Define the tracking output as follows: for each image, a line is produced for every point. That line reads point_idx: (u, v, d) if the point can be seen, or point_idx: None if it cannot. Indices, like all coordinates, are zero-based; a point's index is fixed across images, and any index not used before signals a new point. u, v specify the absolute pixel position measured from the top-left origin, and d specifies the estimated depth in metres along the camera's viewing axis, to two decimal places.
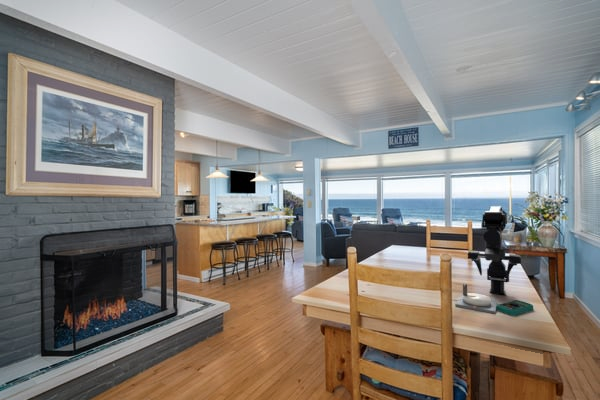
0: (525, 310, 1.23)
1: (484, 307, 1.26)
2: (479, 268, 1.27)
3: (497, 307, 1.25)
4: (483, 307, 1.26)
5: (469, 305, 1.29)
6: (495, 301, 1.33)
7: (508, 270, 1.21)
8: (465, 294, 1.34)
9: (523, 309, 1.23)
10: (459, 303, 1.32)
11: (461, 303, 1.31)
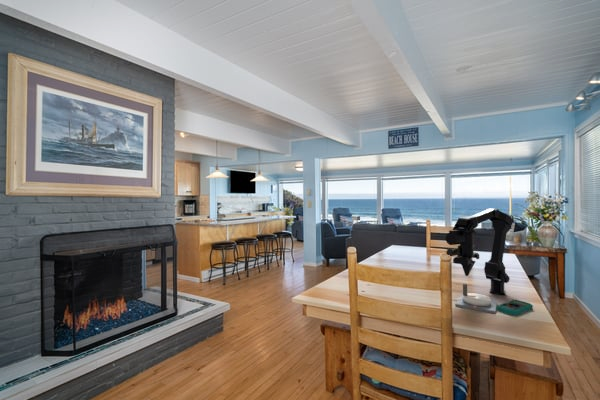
0: (525, 310, 1.23)
1: (484, 307, 1.26)
2: None
3: (498, 307, 1.25)
4: (483, 307, 1.26)
5: (469, 305, 1.29)
6: (495, 301, 1.33)
7: None
8: (465, 294, 1.34)
9: (523, 309, 1.23)
10: (459, 303, 1.32)
11: (461, 303, 1.31)
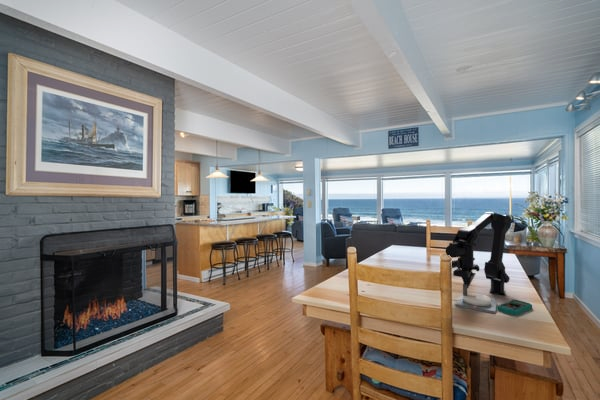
0: (525, 310, 1.23)
1: (484, 307, 1.26)
2: None
3: (498, 307, 1.25)
4: (483, 307, 1.26)
5: (469, 305, 1.29)
6: (495, 301, 1.33)
7: None
8: (465, 294, 1.34)
9: (523, 309, 1.23)
10: (459, 303, 1.32)
11: (461, 303, 1.31)
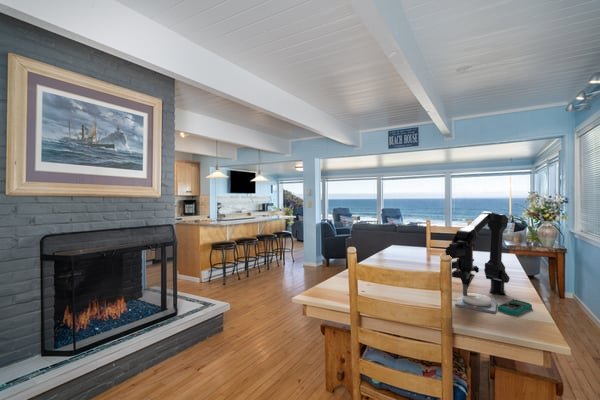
0: (525, 310, 1.24)
1: (484, 307, 1.26)
2: None
3: (499, 308, 1.25)
4: (483, 307, 1.26)
5: (469, 305, 1.29)
6: (495, 301, 1.33)
7: None
8: (465, 294, 1.34)
9: (524, 309, 1.23)
10: (459, 303, 1.32)
11: (461, 303, 1.31)
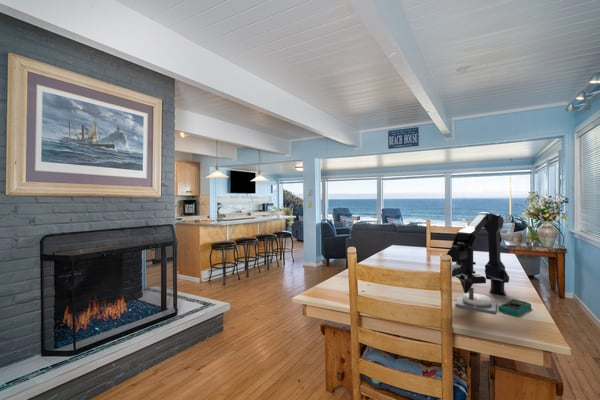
0: (525, 309, 1.24)
1: (484, 307, 1.26)
2: (462, 285, 1.33)
3: (500, 308, 1.24)
4: (483, 307, 1.26)
5: (469, 305, 1.29)
6: (495, 301, 1.33)
7: (464, 285, 1.32)
8: None
9: (524, 309, 1.23)
10: (459, 303, 1.32)
11: (461, 303, 1.31)
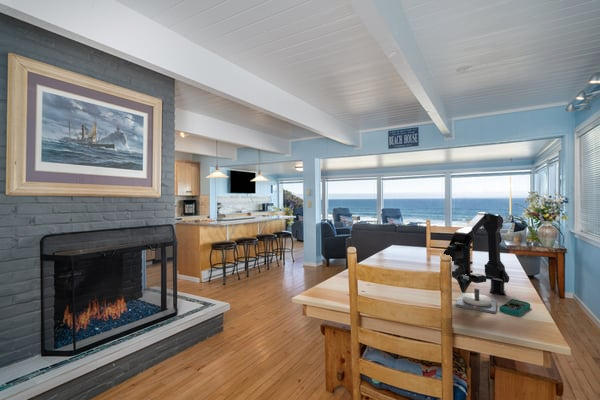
0: (525, 309, 1.24)
1: (484, 307, 1.26)
2: (460, 285, 1.34)
3: (500, 308, 1.24)
4: (483, 307, 1.26)
5: (469, 305, 1.29)
6: (495, 301, 1.33)
7: (462, 285, 1.33)
8: None
9: (524, 308, 1.23)
10: (459, 303, 1.32)
11: (461, 303, 1.31)
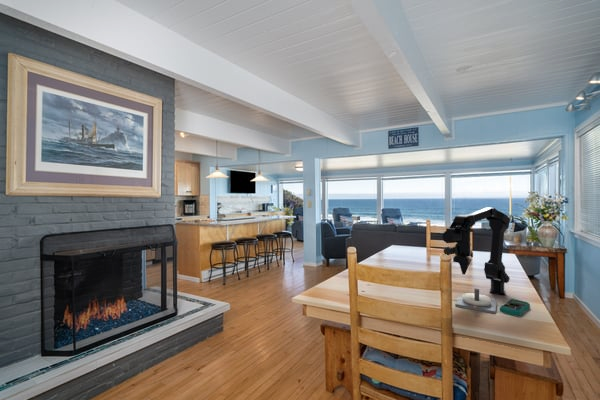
0: (525, 309, 1.24)
1: (484, 307, 1.26)
2: None
3: (501, 309, 1.24)
4: (483, 307, 1.26)
5: (469, 305, 1.29)
6: (495, 301, 1.33)
7: (460, 266, 1.39)
8: None
9: (524, 308, 1.23)
10: (459, 303, 1.32)
11: (461, 303, 1.31)
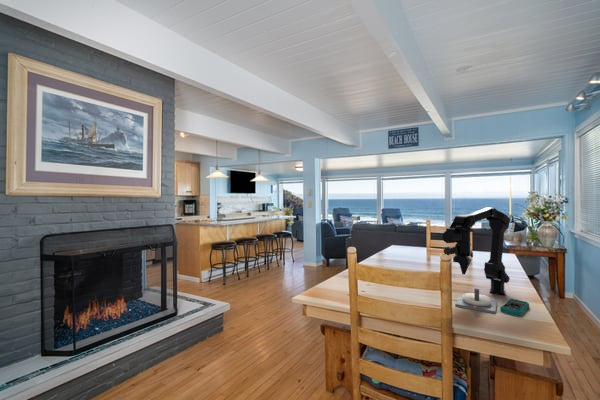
0: (525, 309, 1.24)
1: (484, 307, 1.26)
2: None
3: (502, 309, 1.23)
4: (483, 307, 1.26)
5: (469, 305, 1.29)
6: (495, 301, 1.33)
7: (460, 266, 1.39)
8: None
9: (524, 308, 1.23)
10: (459, 303, 1.32)
11: (461, 303, 1.31)
